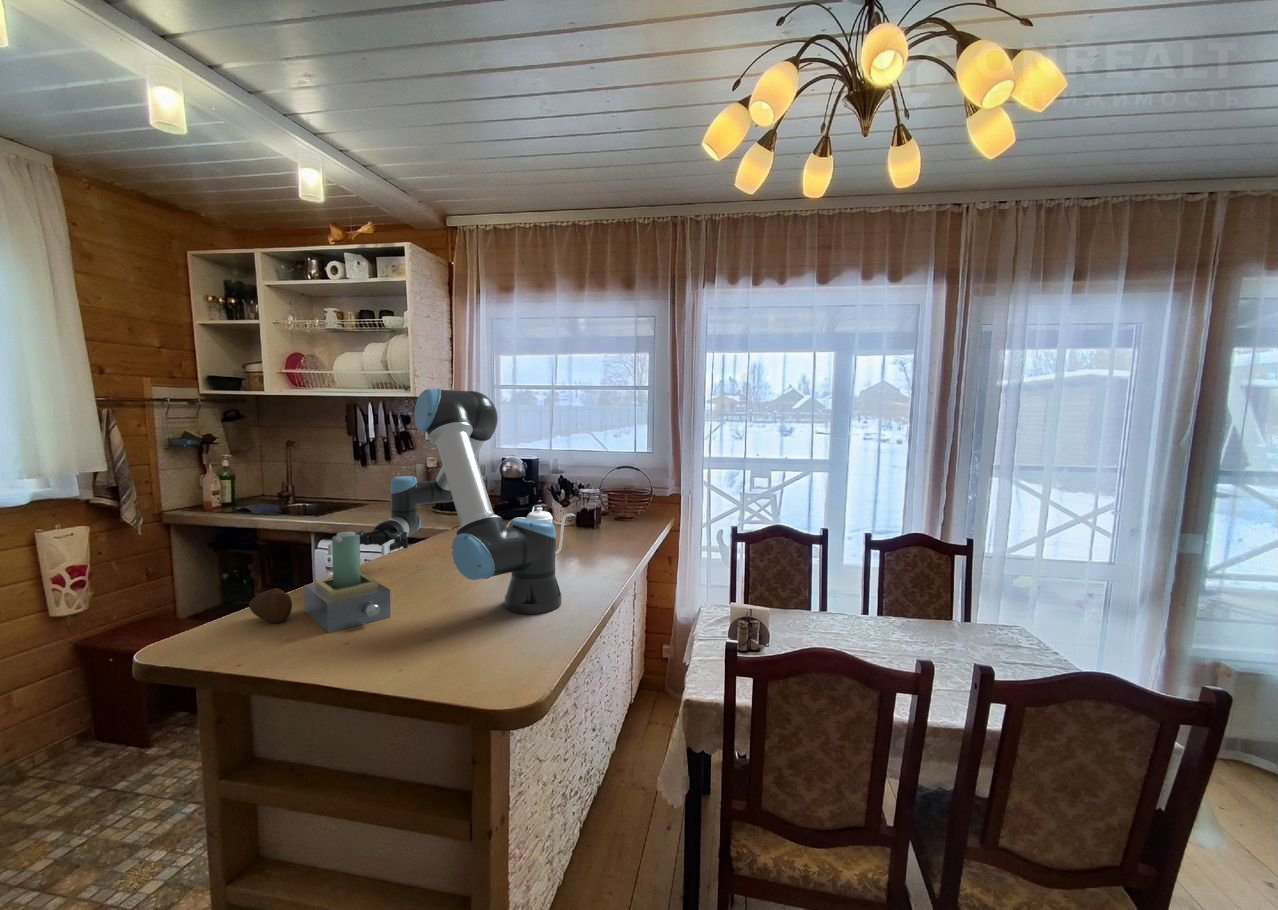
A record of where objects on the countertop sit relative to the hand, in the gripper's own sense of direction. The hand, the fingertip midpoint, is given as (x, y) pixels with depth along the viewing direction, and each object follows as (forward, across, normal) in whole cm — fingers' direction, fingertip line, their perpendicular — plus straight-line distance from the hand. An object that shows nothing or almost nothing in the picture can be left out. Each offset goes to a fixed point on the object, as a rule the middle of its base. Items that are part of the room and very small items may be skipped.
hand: (356, 550), depth 135 cm
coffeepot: (-47, -41, -16) cm, 65 cm away
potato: (+9, +16, -16) cm, 24 cm away
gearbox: (+6, -1, -15) cm, 16 cm away
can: (+5, 0, -8) cm, 10 cm away
